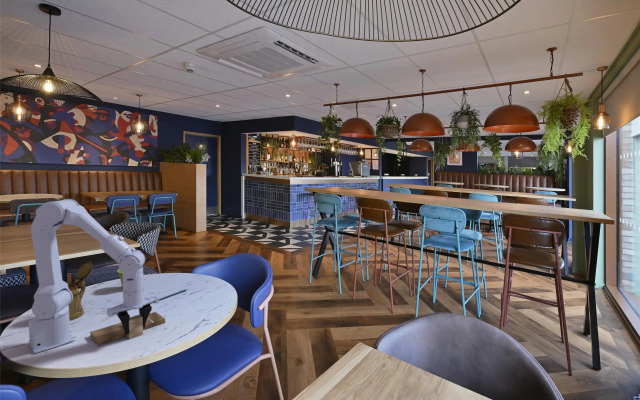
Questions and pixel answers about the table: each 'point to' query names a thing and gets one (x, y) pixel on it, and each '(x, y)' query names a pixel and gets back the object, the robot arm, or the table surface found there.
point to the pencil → (172, 295)
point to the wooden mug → (75, 305)
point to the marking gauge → (135, 326)
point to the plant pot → (120, 276)
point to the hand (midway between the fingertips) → (134, 330)
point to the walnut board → (122, 329)
